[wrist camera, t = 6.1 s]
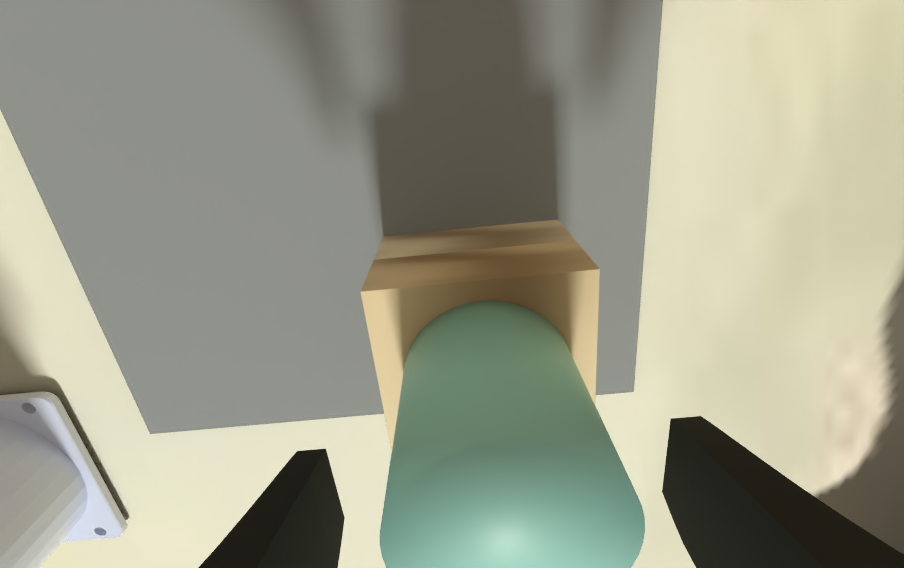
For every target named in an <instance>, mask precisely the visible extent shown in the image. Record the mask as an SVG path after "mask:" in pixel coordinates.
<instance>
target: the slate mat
mask: <svg viewBox="0 0 904 568" xmlns="http://www.w3.org/2000/svg"><path fill="white" fill-rule="evenodd" d="M662 3H663V0H0V109H1V112H2V114H3V116H4V118H5V120H6V122H7V125H8V127H9V129H10V131H11V133H12V135H13V138H14V140H15V142H16V144H17V146H18V148H19V151H20V153H21V155H22V157H23V159H24V161H25V164H26V166H27V168H28V170H29V172H30V174H31V177H32V179H33V181H34V183H35V185H36V187H37V190H38V192H39V194H40V196H41V198H42V200H43V203H44V205H45V207H46V209H47V211H48V213H49V216H50V218H51V220H52V222H53V224H54V226H55V229H56V231H57V233H58V235H59V237H60V239H61V242H62V244H63V246H64V248H65V250H66V252H67V255H68V257H69V259H70V261H71V263H72V265H73V268H74V270H75V272H76V274H77V276H78V278H79V281H80V283H81V285H82V287H83V289H84V291H85V294H86V296H87V298H88V300H89V302H90V304H91V307H92V309H93V311H94V313H95V315H96V317H97V320H98V322H99V324H100V326H101V328H102V330H103V333H104V335H105V337H106V339H107V341H108V343H109V346H110V348H111V350H112V352H113V354H114V356H115V359H116V361H117V363H118V365H119V367H120V369H121V372H122V374H123V376H124V378H125V380H126V382H127V385H128V387H129V389H130V391H131V393H132V395H133V398H134V400H135V402H136V404H137V406H138V408H139V411H140V413H141V415H142V417H143V419H144V421H145V424H146V426H147V428H148V430H149V432H150V434H155V433H166V432H178V431H189V430H201V429H212V428H224V427H235V426H247V425H258V424H270V423H281V422H292V421H304V420H315V419H327V418H338V417H350V416H361V415H373V414H384V409H383V404H382V399H381V394H380V389H379V384H378V379H377V374H376V369H375V363H374V358H373V353H372V348H371V343H370V338H369V333H368V328H367V323H366V317H365V312H364V307H363V302H362V297H361V289H362V287H363V284H364V282H365V280H366V277H367V275H368V272H369V270H370V268H371V265H372V263H373V260H374V258H375V256H376V253H377V251H378V248H379V246H380V244H381V241H382V239H383V236H393V235H403V234H414V233H424V232H434V231H444V230H454V229H465V228H475V227H485V226H495V225H506V224H516V223H526V222H536V221H547V220H557V219H558V220H559V221H560V222H561V224H562V225H563V226H564V227H565V228H566V229H567V231H568V232H569V233H570V234H571V235H572V237H573V238H574V239H575V240H576V241H577V243H578V244H579V245H580V246H581V247H582V249H583V250H584V251H585V252H586V253H587V254H588V256H589V257H590V258H591V259H592V260H593V262H594V263H595V264H596V265H597V266H598V268H599V269H600V278H599V307H598V336H597V366H596V395H602V394H614V393H625V392H634V379H635V366H636V352H637V339H638V325H639V312H640V298H641V285H642V272H643V258H644V245H645V231H646V218H647V204H648V191H649V177H650V164H651V151H652V137H653V124H654V110H655V97H656V83H657V70H658V57H659V43H660V30H661V16H662Z"/></svg>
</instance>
